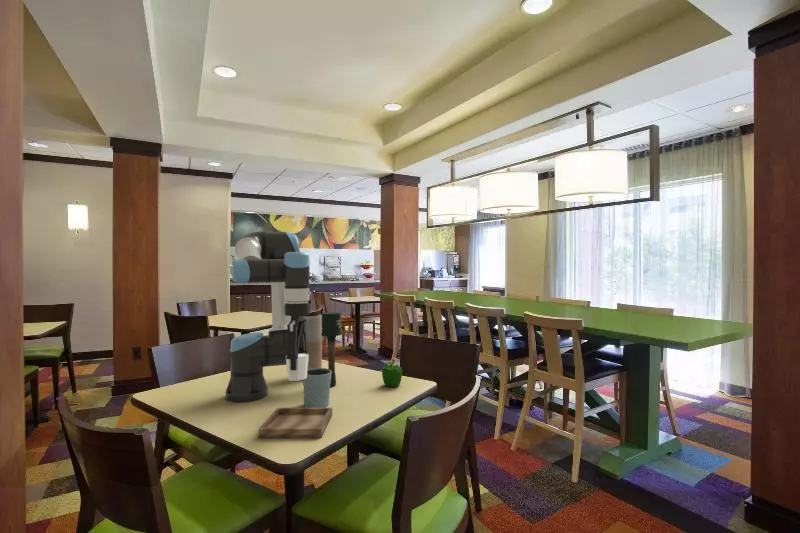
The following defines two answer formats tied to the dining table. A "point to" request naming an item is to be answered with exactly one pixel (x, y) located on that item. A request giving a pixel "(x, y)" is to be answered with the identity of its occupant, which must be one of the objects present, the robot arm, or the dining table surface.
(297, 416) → the tray
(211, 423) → the dining table surface
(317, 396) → the blue cup
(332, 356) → the stick grenade
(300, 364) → the white cup
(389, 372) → the bell pepper
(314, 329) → the vase
